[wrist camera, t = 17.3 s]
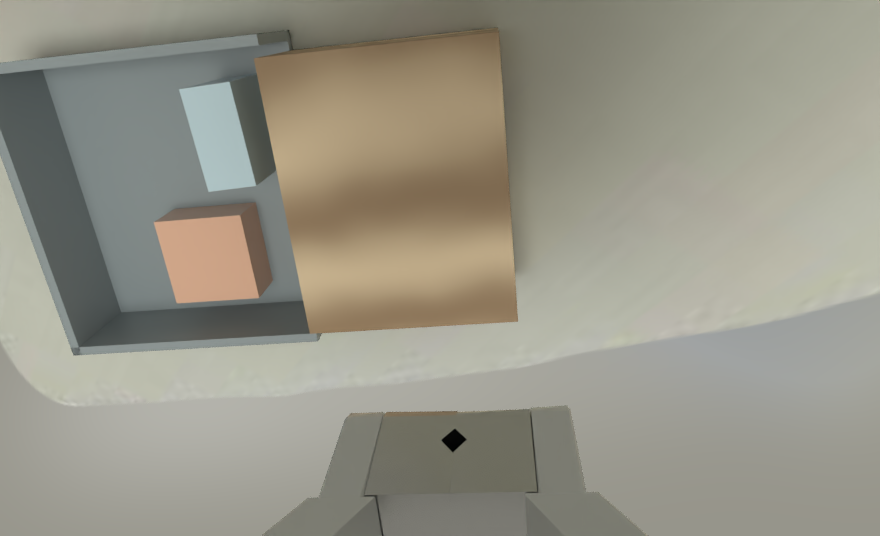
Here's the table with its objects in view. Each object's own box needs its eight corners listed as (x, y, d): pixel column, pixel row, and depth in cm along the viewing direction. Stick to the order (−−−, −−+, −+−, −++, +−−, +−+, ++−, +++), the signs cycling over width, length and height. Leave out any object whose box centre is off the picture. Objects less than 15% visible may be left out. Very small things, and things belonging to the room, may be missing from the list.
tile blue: (264, 71, 34) (221, 78, 34) (229, 81, 29) (179, 89, 30) (286, 162, 36) (244, 168, 36) (256, 185, 31) (208, 191, 32)
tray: (36, 58, 35) (-33, 66, 31) (288, 30, 34) (256, 33, 29) (120, 316, 41) (73, 355, 36) (338, 302, 40) (317, 341, 35)
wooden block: (292, 50, 34) (253, 58, 28) (497, 27, 33) (498, 31, 27) (335, 287, 39) (309, 333, 34) (513, 275, 38) (517, 321, 32)
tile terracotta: (239, 215, 35) (255, 202, 37) (153, 222, 35) (174, 208, 37) (259, 298, 36) (273, 280, 39) (176, 303, 37) (195, 286, 39)
